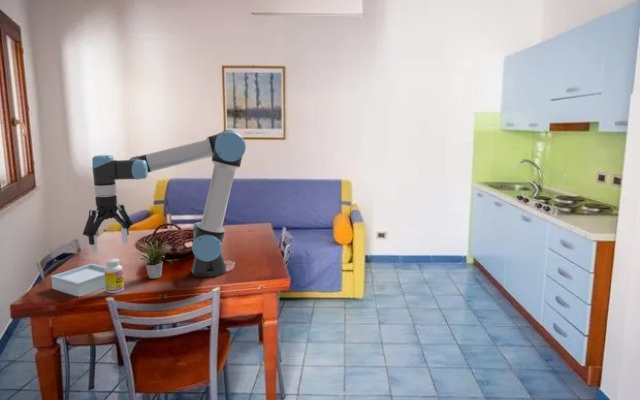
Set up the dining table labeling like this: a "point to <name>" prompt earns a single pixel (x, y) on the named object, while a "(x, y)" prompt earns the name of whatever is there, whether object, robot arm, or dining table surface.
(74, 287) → the shallow open tray
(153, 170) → the robot arm
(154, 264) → the house plant
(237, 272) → the dining table surface
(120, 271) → the supplement bottle
